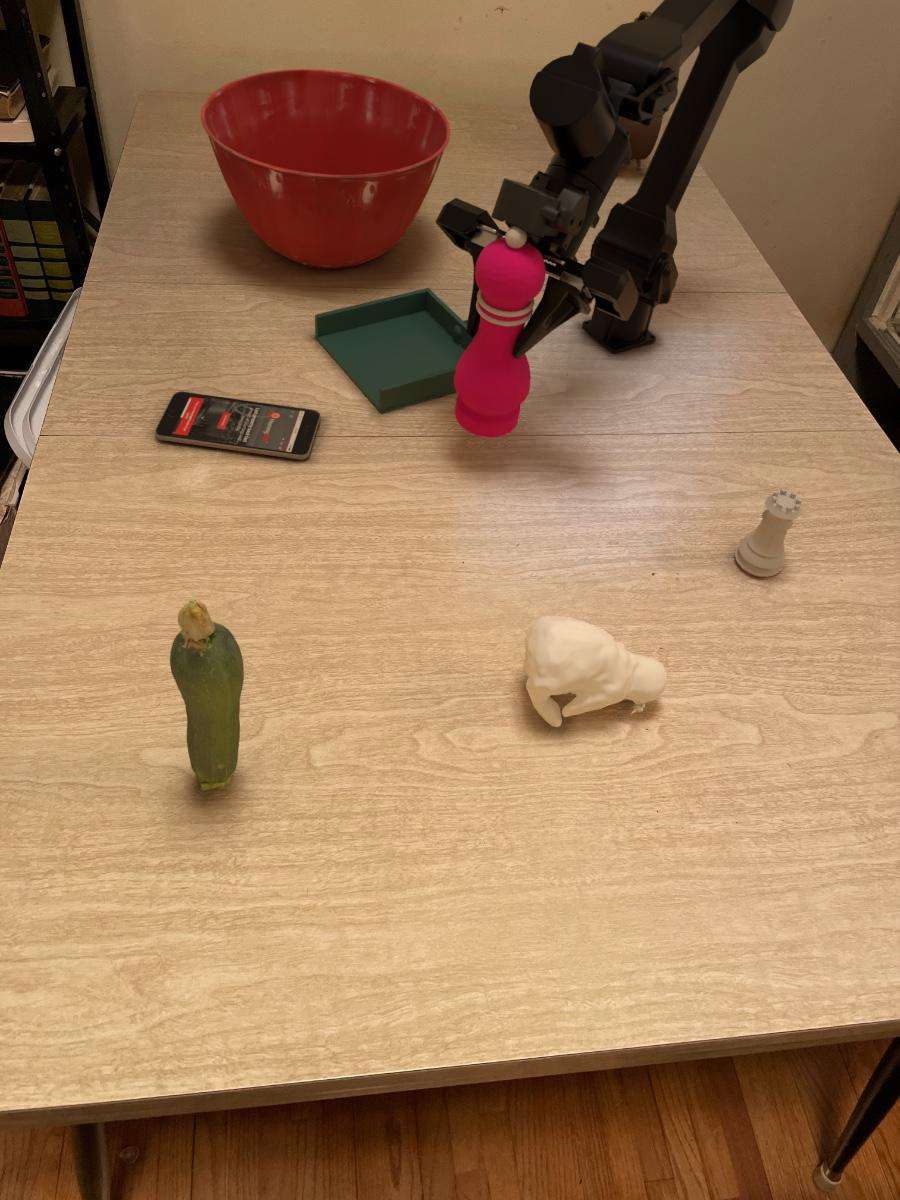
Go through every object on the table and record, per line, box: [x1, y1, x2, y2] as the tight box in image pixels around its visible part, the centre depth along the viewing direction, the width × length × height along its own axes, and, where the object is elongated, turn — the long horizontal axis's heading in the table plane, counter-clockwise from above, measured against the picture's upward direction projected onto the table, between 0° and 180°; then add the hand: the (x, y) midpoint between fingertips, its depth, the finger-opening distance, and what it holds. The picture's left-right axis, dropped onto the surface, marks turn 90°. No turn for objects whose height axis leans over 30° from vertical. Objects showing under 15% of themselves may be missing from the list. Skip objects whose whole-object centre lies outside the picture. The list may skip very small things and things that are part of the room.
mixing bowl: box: [200, 68, 451, 270], centre depth 116 cm, size 28×28×15 cm
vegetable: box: [169, 598, 245, 791], centre depth 62 cm, size 4×4×20 cm
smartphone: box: [154, 391, 322, 461], centre depth 95 cm, size 7×1×15 cm
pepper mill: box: [454, 226, 547, 439], centre depth 86 cm, size 7×7×20 cm
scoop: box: [314, 287, 475, 414], centre depth 107 cm, size 24×15×3 cm, turn 122°
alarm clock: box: [616, 10, 664, 172], centre depth 139 cm, size 14×7×20 cm, turn 6°
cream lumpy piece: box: [522, 615, 668, 728], centre depth 74 cm, size 6×8×12 cm
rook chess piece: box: [734, 488, 803, 578], centre depth 87 cm, size 4×4×8 cm
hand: (491, 346), depth 86 cm, fingers closed on pepper mill, 4 cm apart
